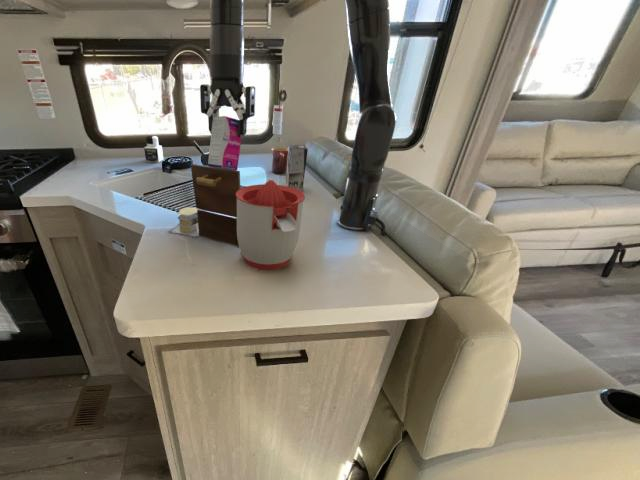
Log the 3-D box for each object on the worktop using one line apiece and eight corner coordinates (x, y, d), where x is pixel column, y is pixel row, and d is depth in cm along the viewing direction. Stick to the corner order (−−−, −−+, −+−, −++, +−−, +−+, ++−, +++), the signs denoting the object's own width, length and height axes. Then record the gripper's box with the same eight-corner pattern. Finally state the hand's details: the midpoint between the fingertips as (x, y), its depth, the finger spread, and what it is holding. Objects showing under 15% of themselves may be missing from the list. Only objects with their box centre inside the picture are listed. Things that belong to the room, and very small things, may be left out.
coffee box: (303, 192, 130) (308, 148, 120) (287, 192, 130) (291, 148, 120) (300, 186, 137) (304, 144, 128) (284, 185, 137) (288, 144, 128)
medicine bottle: (146, 162, 170) (142, 137, 163) (151, 159, 176) (147, 134, 169) (158, 162, 169) (155, 137, 162) (163, 159, 175) (160, 135, 168)
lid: (192, 163, 83) (179, 169, 79) (239, 171, 77) (228, 178, 74) (197, 207, 90) (186, 214, 87) (241, 217, 85) (231, 225, 81)
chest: (219, 223, 103) (218, 198, 98) (258, 232, 97) (259, 207, 92) (198, 235, 95) (197, 209, 90) (240, 246, 89) (240, 219, 85)
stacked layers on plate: (196, 236, 94) (194, 218, 91) (169, 232, 97) (167, 214, 93) (211, 224, 101) (210, 207, 98) (186, 220, 104) (184, 203, 101)
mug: (269, 169, 160) (270, 147, 154) (287, 169, 160) (289, 147, 154) (271, 176, 150) (272, 152, 144) (289, 176, 150) (292, 152, 144)
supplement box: (218, 167, 79) (224, 115, 75) (207, 166, 84) (211, 116, 80) (238, 170, 82) (244, 120, 78) (226, 169, 87) (231, 121, 83)
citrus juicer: (254, 285, 73) (258, 196, 61) (226, 252, 86) (225, 174, 74) (312, 272, 78) (326, 187, 66) (277, 243, 91) (284, 168, 79)
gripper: (263, 53, 71) (259, 136, 80) (209, 53, 77) (211, 130, 86) (246, 51, 66) (244, 140, 75) (190, 52, 71) (195, 134, 81)
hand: (227, 135), depth 81 cm, fingers closed on supplement box, 7 cm apart
